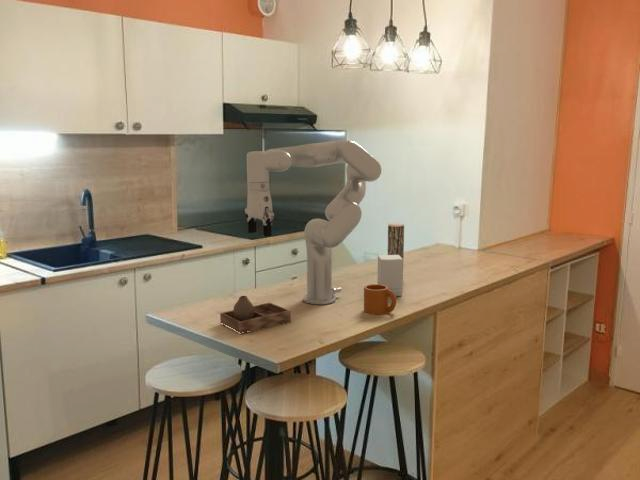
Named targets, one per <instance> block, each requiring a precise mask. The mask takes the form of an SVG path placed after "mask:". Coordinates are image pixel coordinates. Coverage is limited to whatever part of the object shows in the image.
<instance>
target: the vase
mask: <svg viewBox="0 0 640 480" xmlns="http://www.w3.org/2000/svg"><path fill="white" fill-rule="evenodd" d="M253 306H254V305H253V303H252V302H251V301H250V299H249V298H248V296H247V295H240V296H239V298H238V299H237V300H236V303H235V304H234V305H233V314H234V318H235V319H237V320H239V321H245V320H249V319H253V316H254V307H253Z"/></svg>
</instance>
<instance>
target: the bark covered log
mask: <svg viewBox="0 0 640 480" xmlns="http://www.w3.org/2000/svg"><path fill="white" fill-rule="evenodd" d="M404 246H405V224H404V223H401V222H390V223H388V224H387V255H399V256H400V257H401V258H402V259H403V260H404V255H405V254H404V253H405V252H404V250H405V249H404Z"/></svg>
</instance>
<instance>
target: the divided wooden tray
mask: <svg viewBox="0 0 640 480" xmlns="http://www.w3.org/2000/svg"><path fill="white" fill-rule="evenodd" d="M253 307H254V316H253V319H249V320H245V321H239V320H237V319H235V318H234V314H233V310H234V309H233V310H229V311H223V312H220V314H219V316H220V318H219V319H220V322H219V323H220V324H221V323H223V324H225V325H227V326H229V327H231V328H233V329H235V330H236V331H238V332H240V333H242V332H247V331H253V330H257V331H259V330H258V329H261V330H263V329H262V328H265V329H268V328H267V327H269V328H272V327H271V326H273V327H276V326H275V325H277V326H279V324H281V325H284V324H283V323H285V324H288V323H287V322H289V323H291V322H292V320H291V315H292V313H291V310H289V309H287V308H284V307H281V306H279V305H277V304H275V303H272V302H265V303H260V304H257V305H253ZM253 332H254V331H253Z"/></svg>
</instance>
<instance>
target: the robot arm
mask: <svg viewBox="0 0 640 480" xmlns="http://www.w3.org/2000/svg"><path fill="white" fill-rule="evenodd" d="M335 164H346V167H345V168H346V169H345V170H346V183H345V185H344V187H343V188H342V190H341V191H340V192H339V193H338V194H337V195H336V196H335V197H334V198H333V199H332V200H331V201H330V203H329V204H328V205H327V206H326V208H325V212H324V214H325V215H324V216H325V218H326V219H322V218H313V219H311V220H309V221H308V222H307V224H306V225H305V227H304V232H303V233H304V234H303V235H304V240H305V246H306V247H305V248H306V288H307V289H306V294H305V295H304V296H303V297H302V300H303V302H305V303H307V304H309V303H310V305H329V304H333V303H334V302H336V300H337V297H336V295H335V294H337V293H341V292H342V287H340V286H339V287H334V286H333V271H332V270H333V268H332V267H333V255H332V249H334V248H337V247H338V246H340V245H341V244H342V243H343V242H344V241H345V240H346V238H347V237H348V236H349V235H350V234H351V233H352V232H353V231H354V230H355V228H357V226H358V225H359V223H360V221H361V219H362V209H361V207H360V204H361V202H362V201H363V199H364V198H365V197H366V196H365V195H366V191H367V187H366V186H367V185H366V184H367V183H366V182H369V183H370V182H375V181H377V180H378V179H379V178H380V177H381V175H382V167H381V164H380V162H379V161H378V159H377V158H375V157H374V156H373V155H372V154H370V153H369V152H368V151H367V150H366V149H365V148H364V147H362V146H361V145H360V144H359V143H357V142H355V141H353V140H343V139H342V140H341V139H340V140H338V139H337V140H331V141H330V140H329V141H323V142H316V143H314V142H313V143H307V144H301V145H293V146H283V147H277V148H271V149H270V148H269V149H266V150H265V151H263V150H262V151H261V150H260V151H258V150H257V151H255V150H254V151H248V152H247V154H246V175H247V177H246V179H247V182H246V183H247V195H246V196H247V199H246V207H245V208H244V213H245V217H246V222H247V233H248V234H253V233H257V221H256V220H261V221H262V223H263V225H262V236H263V237H264V238H266V237H272V232H273V231H272V226H273V221H274V217H275V213H274V212H273V201H272V195H271V192H270V191H271V190H270V181H269V179H270V177H269V176H270V175H269V172H279V173H281V172H282V173H283V172H285V171H287V170H289V169H290V168H293V167H294V168H296V167H297V168H315V167H323V166H329V165H335Z"/></svg>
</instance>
